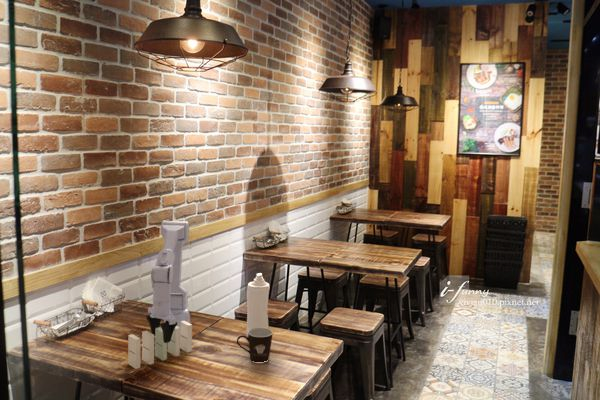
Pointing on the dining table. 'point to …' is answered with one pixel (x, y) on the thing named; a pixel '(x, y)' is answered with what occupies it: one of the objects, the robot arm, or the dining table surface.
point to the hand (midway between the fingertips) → (161, 338)
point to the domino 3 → (160, 344)
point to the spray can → (257, 303)
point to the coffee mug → (258, 344)
